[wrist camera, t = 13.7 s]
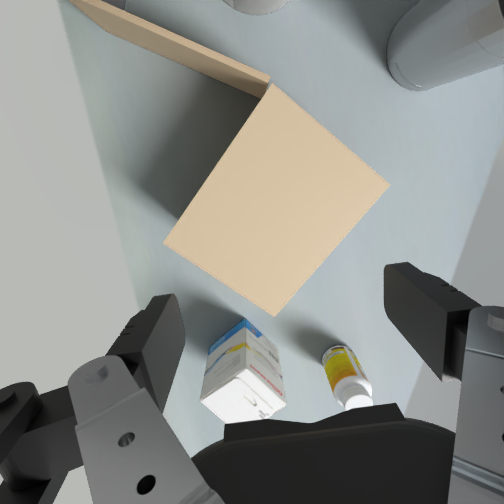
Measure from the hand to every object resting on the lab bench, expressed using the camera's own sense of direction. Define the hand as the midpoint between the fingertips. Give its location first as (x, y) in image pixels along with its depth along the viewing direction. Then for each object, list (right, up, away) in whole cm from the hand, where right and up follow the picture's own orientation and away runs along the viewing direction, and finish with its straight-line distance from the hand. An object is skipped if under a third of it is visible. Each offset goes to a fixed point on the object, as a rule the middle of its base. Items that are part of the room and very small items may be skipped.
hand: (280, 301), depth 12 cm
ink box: (-2, -14, +39) cm, 42 cm away
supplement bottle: (+14, -16, +40) cm, 45 cm away
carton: (+1, +9, +31) cm, 32 cm away
